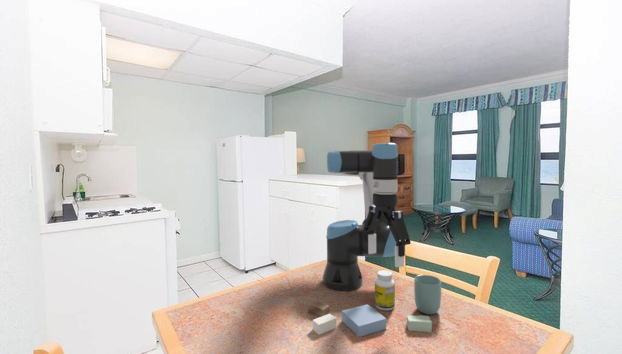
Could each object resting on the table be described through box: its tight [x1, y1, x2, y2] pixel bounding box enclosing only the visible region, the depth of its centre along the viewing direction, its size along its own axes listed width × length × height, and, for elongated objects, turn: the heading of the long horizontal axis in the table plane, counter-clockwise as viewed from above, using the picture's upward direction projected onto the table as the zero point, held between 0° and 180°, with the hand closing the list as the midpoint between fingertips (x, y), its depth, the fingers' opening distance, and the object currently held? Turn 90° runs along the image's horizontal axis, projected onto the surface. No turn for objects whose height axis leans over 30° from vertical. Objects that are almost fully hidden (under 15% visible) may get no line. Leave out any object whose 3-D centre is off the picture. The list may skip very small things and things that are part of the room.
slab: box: [341, 303, 387, 338], centre depth 86 cm, size 9×9×3 cm
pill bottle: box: [374, 269, 396, 312], centre depth 96 cm, size 6×6×11 cm
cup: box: [413, 274, 442, 315], centre depth 92 cm, size 8×8×10 cm
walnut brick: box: [307, 300, 331, 318], centre depth 92 cm, size 6×3×3 cm, turn 51°
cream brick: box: [312, 313, 337, 336], centre depth 84 cm, size 6×3×3 cm, turn 123°
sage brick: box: [406, 314, 433, 333], centre depth 84 cm, size 6×3×3 cm, turn 84°
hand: (384, 259), depth 95 cm, fingers open, 13 cm apart
